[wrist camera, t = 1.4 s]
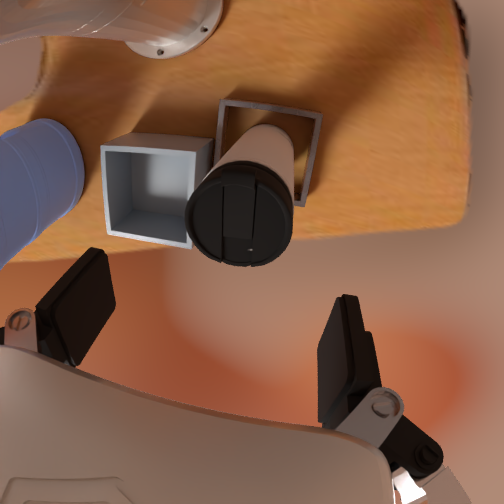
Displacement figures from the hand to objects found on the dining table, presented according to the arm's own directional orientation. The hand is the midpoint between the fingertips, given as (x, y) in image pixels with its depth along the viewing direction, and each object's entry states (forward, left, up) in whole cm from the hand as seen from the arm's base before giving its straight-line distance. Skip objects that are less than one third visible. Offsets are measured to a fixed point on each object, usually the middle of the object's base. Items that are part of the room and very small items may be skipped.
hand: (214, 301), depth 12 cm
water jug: (+5, -32, -26) cm, 42 cm away
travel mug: (0, 0, -26) cm, 26 cm away
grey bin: (+5, -12, -26) cm, 29 cm away
